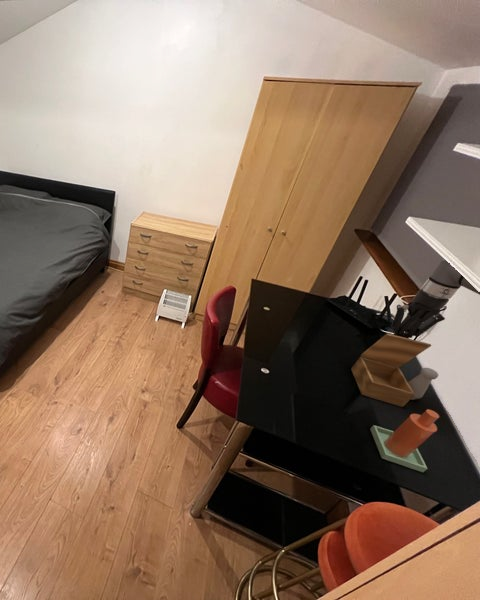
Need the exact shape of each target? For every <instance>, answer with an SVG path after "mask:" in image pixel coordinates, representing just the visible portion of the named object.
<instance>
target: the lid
mask: <svg viewBox="0 0 480 600" xmlns="http://www.w3.org/2000/svg"><path fill="white" fill-rule="evenodd" d="M431 347H432V344H431V343H428V342H423V341H420V340H415V339H413V338H404V337H400V336H396V335H393V334H392V333H386V334H384V335H383V336H382V337H380V339H378V340H377V341H376V342H375V343H373V344H372V345H371V346H369V348H367V349H366V350H365V351H363V352H362V353H361V354H360V357H363V358H367V359H370V360H374V361H378V362H382V363H385V364H389V365H393V366H396V367H399V368H401V367H402V366H403V365H405V364H407V363H408V362H409V361H411V360H412V359H414V358H415V357H417V356H419V355H420V354H422V353H423V352H425V351H426V350H428V349H430V348H431Z"/></svg>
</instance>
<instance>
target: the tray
mask: <svg viewBox="0 0 480 600" xmlns="http://www.w3.org/2000/svg"><path fill="white" fill-rule="evenodd" d="M369 429H370V433H371V435H372V437H373V440H374V443H375V445H376V448H377V450H378V452H379V455H380V457H381V459H383V460H384V461H388V462H392V463H394V464H398V465H401V466H403V467H406V468H409V469H411V470H413V471H414V470H415V471H418V472H420V473H424V472H426V471H427V470H428V467H427V465H426V462H425V461H424V459H423V457H422V454H421V453H420V450H419V448H417V449H416V450H415V451H413V452H412V453H411V454H410V455H409V456H408V457H400V456H397V455H395V454H394V453H392V452H391V451H390V450H388V449H387V447H386V446H385V444H384V441H385V440H386V439H387V438H388V437H389V436H390V435H391V434H392V433H393V432H394V431H395V430H390V429H387V428H384V427H382V426H378V425H374V424H373V425H372V427H370V428H369Z"/></svg>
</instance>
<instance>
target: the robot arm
mask: <svg viewBox="0 0 480 600" xmlns="http://www.w3.org/2000/svg"><path fill="white" fill-rule="evenodd" d="M461 287H462V288H465V289H467V290H469V291H471V292H474V293H475V294H477V295H480V292H478V291H477V290H476V289H475V288H474V287H473V286H472V285H471V284H470V283H469V282H468V281H467V280H466V279H465V278H464V277H463V276H462V275H461V274H460V273H459V272H458V271H457V270H455V268H454V267H452V266H451V265H450V263H448V262H447V261H446V260H445V259H444V257H443V258H442V259H441V261H440V262H439V264H438V265H437V267H436V268H435V269H434V271H433V272H432V273H431V275H429V277H428V278H427V279H426V281H425V282H424V283H423V285H422V286H421V287H420V288H421V289H419V290H418V291H417V293H416V294H415V295H414V296H413V298H412V300H411V301H409V302H408V303H407V304H403V305H401V304H397V305H396V313H395V315H394V319H393V321H392V323H391V329H392V331H394V333H393V334H392V335H396V336H400V337H404V338H408V339H413V337H416V338H418V337H420V336H421V335H423V334H424V333H425V332H427V331H428V330H430V329H431V328H433V327H434V326H435V325H436V324H438V323H441V322H442V321H445V320H446V318H445V316H443V314H441V310H442V309H444V307H445V306H446V305H447V303H449V300H450V299H452V297H453V296H454V295H455V294H456V292H457V291H458V290H459V289H460V288H461ZM407 311H408V312H407ZM405 313H406V316H405ZM404 316H405V318H404Z"/></svg>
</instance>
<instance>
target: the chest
mask: <svg viewBox="0 0 480 600" xmlns="http://www.w3.org/2000/svg"><path fill="white" fill-rule="evenodd" d="M400 368H401V367H398V366H394V365H390V364H387V363H383V362H379V361H376V360H372V359H368V358H365V357H361V356H359V358H357V360H356V362H355V363H354V364H353V365H352V366H351V368H350V370H351V372H352V375H353V377H354V380H355V382H356V384H357V388H358V389H359V391H360V395H361V396H364V397H368V398H371V399H375V400H378V401H381V402H384V403H387V404H391V405H395V406H398V407H402V408H404V407H405V406H406V405H407V404H408V403H409V402H410V400H411V398H412V397H413V396H414V395H415V394H414V392H413V390H412V389H411V387H410V385H409V384H408V382H409V381H408V379H406V377H405V375H404V374H403V371H402V370H401V369H400Z"/></svg>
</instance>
